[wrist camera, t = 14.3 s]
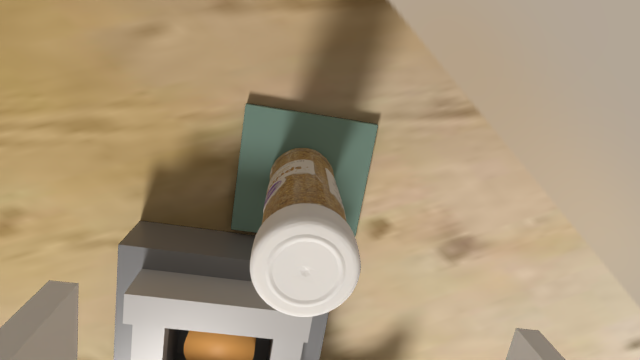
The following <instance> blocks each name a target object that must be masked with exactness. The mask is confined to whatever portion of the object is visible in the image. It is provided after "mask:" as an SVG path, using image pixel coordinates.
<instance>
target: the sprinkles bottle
mask: <svg viewBox="0 0 640 360" xmlns="http://www.w3.org/2000/svg"><path fill="white" fill-rule="evenodd" d="M360 268H361V264H360V255H359V250H358V246H357V242H356V239H355V236H354V233H353V231H352V230H351V228H350V226H349V225H348V223H347V222H346V215H345V211H344V207H343V204H342V200H341V197H340V194H339V191H338V187H337V184H336V181H335V179H334V174H333V169H332V167H331V165H330V163H329V162H328V160H327V159H326V158H325V157H324V156H323V155H322V154H320V153H319V152H318V151H316V150H313V149H309V148H295V149H292V150H289V151H287V152H285V153H284V154H282V155H281V156H280V157H279V158H278V159H277V160H276V161H275V163H274V164H273V166H272V168H271V171H270V182H269V185H268V189H267V194H266V199H265V204H264V209H263V220H262V225H261V227H260V228H259V230H258V232H257V234H256V236H255V239H254V243H253V247H252V251H251V257H250V275H251V280H252V283H253V285H254V287H255V289H256V291H257V293H258V294H259V296H260V297H261V298H262V299H263V300H264V301H265V302H266V303H267V304H268V305H269V306H271V307H272V308H274V309H276V310H277V311H279V312H282V313H284V314H287V315H291V316H297V317H312V316H317V315H321V314H325V313H327V312H329V311H331V310H333V309H335V308H337V307H338V306H340V305H341V304H342V303H343V302H344V301H345V300H346V299H347V298H348V297H349V296H350V295H351V293H352V292H353V290H354V289H355V287H356V284H357V282H358V279H359V275H360Z"/></svg>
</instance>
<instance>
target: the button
mask: <svg viewBox="0 0 640 360" xmlns="http://www.w3.org/2000/svg"><path fill="white" fill-rule="evenodd" d="M255 344H256V337H247V336H237V335H228V334H218V333H208V332H198V331H189V332H188V334H187V337H186V340H185V343H184V355H185V358H186V360H253V357H254V352H255Z"/></svg>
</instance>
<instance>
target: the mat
mask: <svg viewBox="0 0 640 360" xmlns="http://www.w3.org/2000/svg"><path fill="white" fill-rule="evenodd" d="M377 128H378V125H377V124H373V123H367V122H361V121H354V120H348V119H342V118H336V117H329V116H323V115H317V114H311V113H304V112H298V111H292V110H286V109H279V108H273V107H267V106H261V105H254V104H248V103H246V106H245V115H244V123H243V131H242V140H241V148H240V157H239V165H238V174H237V182H236V190H235V199H234V207H233V216H232V224H231V229H232V230H240V231H248V232H255V233H257V232H258V230H259V228H260V227H261V225H262V220H263V209H264V204H265V199H266V194H267V189H268V185H269V182H270V171H271V168H272V166H273V164H274V163H275V161H276V160H277V159H278V158H279V157H280V156H281V155H282V154H284V153H285V152H287V151H289V150H292V149H295V148H309V149H313V150H316V151H318V152H319V153H320V154H322V155H323V156H324V157H325V158H326V159H327V160H328V162H329V163H330V165H331V167H332V169H333V174H334V179H335V181H336V184H337V187H338V191H339V194H340V197H341V200H342V204H343V207H344V211H345V215H346V222H347V223H348V225H349V226H350V228H351V230H352V231H353V233H354V236H355V235H356V230H357V225H358V220H359V216H360V211H361V206H362V201H363V196H364V191H365V186H366V181H367V177H368V172H369V167H370V162H371V157H372V152H373V147H374V142H375V138H376V133H377Z"/></svg>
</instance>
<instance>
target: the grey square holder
mask: <svg viewBox="0 0 640 360" xmlns="http://www.w3.org/2000/svg"><path fill="white" fill-rule="evenodd" d="M255 236H256V235H248V234H240V233H232V232H224V231H217V230H209V229H201V228H193V227H185V226H178V225H170V224H162V223H154V222H146V221H139V222H138V224H137V225H136V226H135V227H134V228H133V229H132V230H131V231H130V232H129V233H128V235H127V236H126V237H125V238H124V239H123V240H122V241H121V242H120V243H119V244H118V267H117V291H116V315H115V339H114V360H186V358H185V355H184V343H185V340H186V337H187V334H188V332H189V331H198V332H208V333H218V334H228V335H237V336H247V337H256V344H255V352H254V357H253V360H319V359H320V354H321V349H322V344H323V339H324V334H325V329H326V324H327V319H328V314H329V312H327V313H325V314H321V315H317V316H312V317H297V316H291V315H287V314H284V313H282V312H279V311H277V310H276V309H274V308H272V307H271V306H269V305H268V304H267V303H266V302H265V301H264V300H263V299H262V298H261V297H260V296H259V294H258V293H257V291H256V289H255V287H254V285H253V283H252V280H251V275H250V257H251V251H252V247H253V243H254V239H255Z"/></svg>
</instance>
